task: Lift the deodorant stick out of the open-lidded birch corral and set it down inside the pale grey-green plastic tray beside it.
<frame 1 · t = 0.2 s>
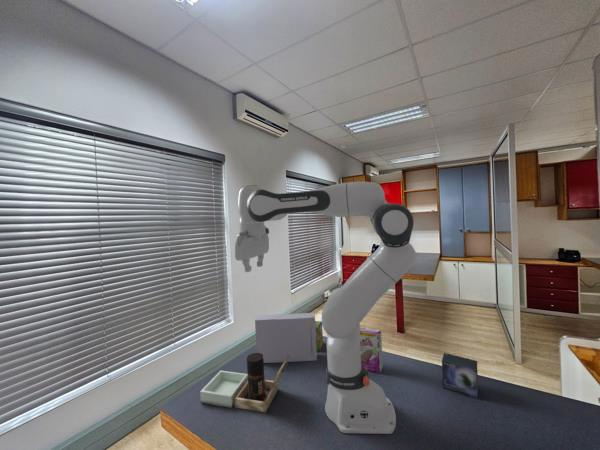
hand: (254, 268, 89), 47 cm above the table, fingers open, 8 cm apart
lid: (278, 378, 87), point 8 cm above the table, hinge at 115.0°
chalk box: (312, 346, 124), on the table
small box: (460, 389, 88), on the table
corral: (257, 397, 89), on the table
tray: (225, 392, 93), on the table
game console: (287, 359, 113), on the table
candy bar box: (368, 368, 104), on the table
deodorant: (257, 398, 89), resting in corral
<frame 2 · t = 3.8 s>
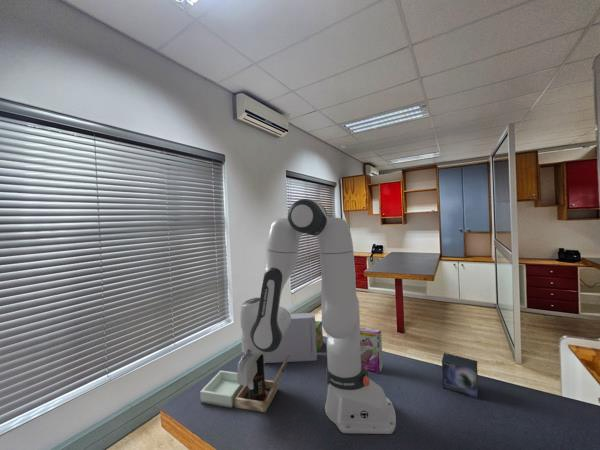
hand: (256, 381, 89), 6 cm above the table, fingers closed on deodorant, 6 cm apart
deodorant: (257, 398, 89), resting in corral, touching gripper
everything else where it was.
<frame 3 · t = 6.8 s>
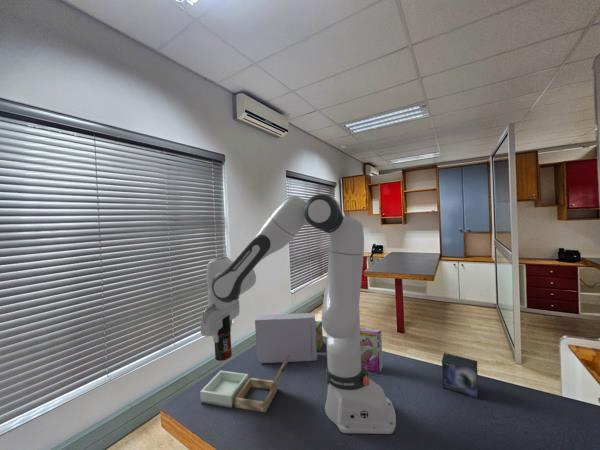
hand: (222, 336, 92), 21 cm above the table, fingers closed on deodorant, 6 cm apart
deodorant: (223, 356, 93), point 14 cm above the table, touching gripper
everything else where it was.
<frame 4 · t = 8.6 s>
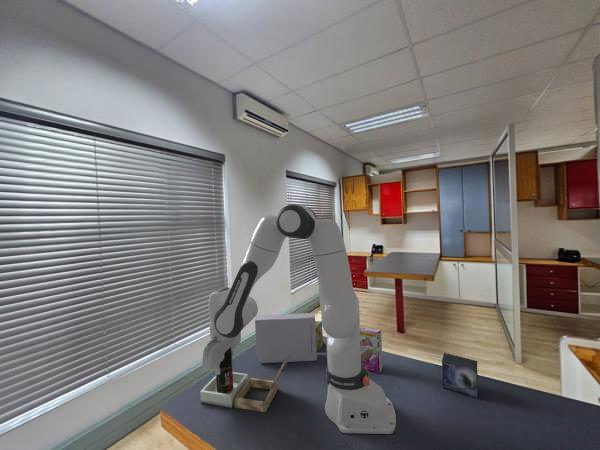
hand: (224, 367, 93), 10 cm above the table, fingers closed on deodorant, 6 cm apart
deodorant: (225, 389, 93), point 1 cm above the table, touching gripper
everything else where it was.
when the fingers open (8 cm above the table, at t = 10.0 s): deodorant stays where it is, resting on tray.
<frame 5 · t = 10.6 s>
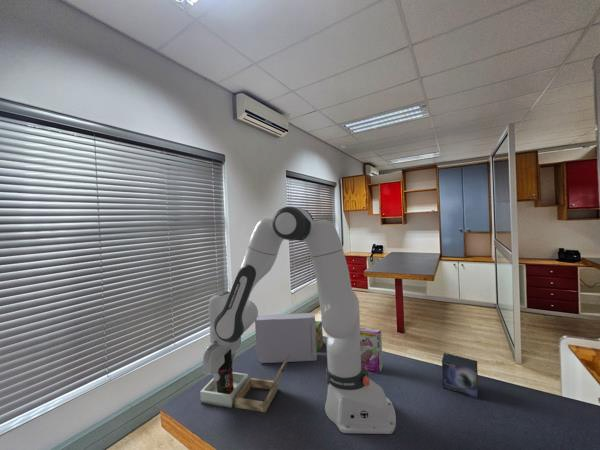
hand: (224, 371, 93), 8 cm above the table, fingers open, 8 cm apart
deodorant: (225, 391, 93), point 1 cm above the table, touching tray
everything else where it was.
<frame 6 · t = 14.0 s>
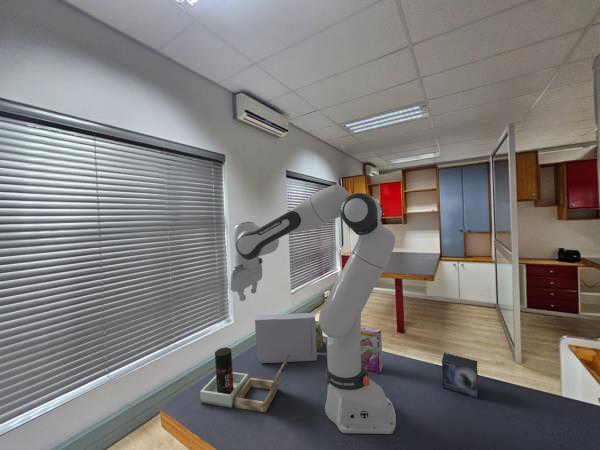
hand: (248, 296, 99), 34 cm above the table, fingers open, 8 cm apart
nothing on the table moved.
at the end: deodorant inside the target area on the tray (0.1 cm from its centre), point 0.6 cm above the tray's base; deodorant tilted 0°; the gripper is holding nothing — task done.
